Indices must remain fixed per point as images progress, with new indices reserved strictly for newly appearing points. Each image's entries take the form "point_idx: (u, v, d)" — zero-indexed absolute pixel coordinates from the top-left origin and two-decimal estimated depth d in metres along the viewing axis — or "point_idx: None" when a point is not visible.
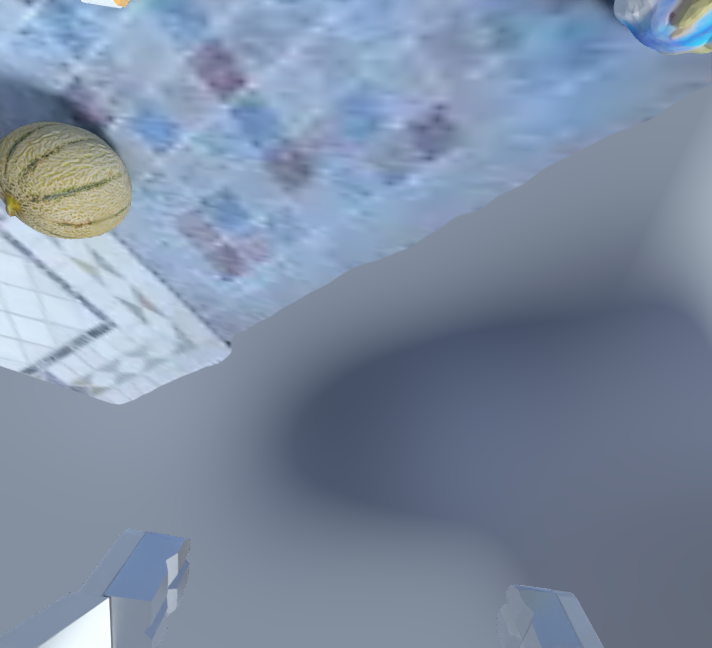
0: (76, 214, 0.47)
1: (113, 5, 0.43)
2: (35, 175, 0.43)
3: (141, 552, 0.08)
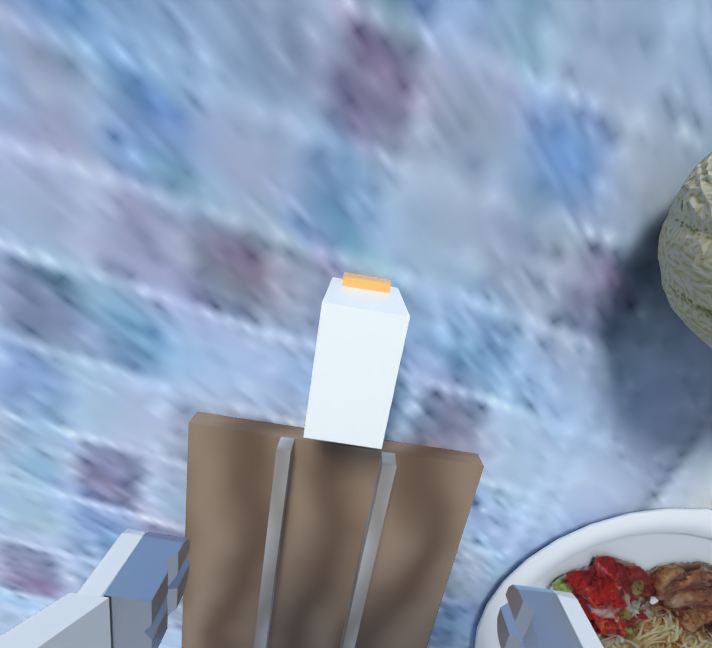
0: None
1: (397, 293, 0.24)
2: None
3: (141, 552, 0.08)
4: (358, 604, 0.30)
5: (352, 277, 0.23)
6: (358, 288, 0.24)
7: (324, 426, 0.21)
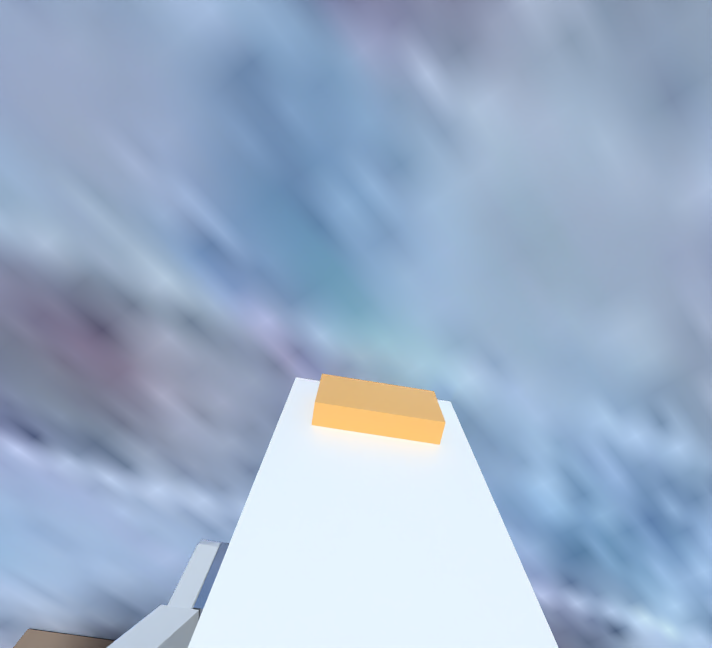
0: None
1: (458, 436, 0.09)
2: None
3: (220, 563, 0.08)
4: None
5: (340, 403, 0.09)
6: (356, 430, 0.09)
7: None
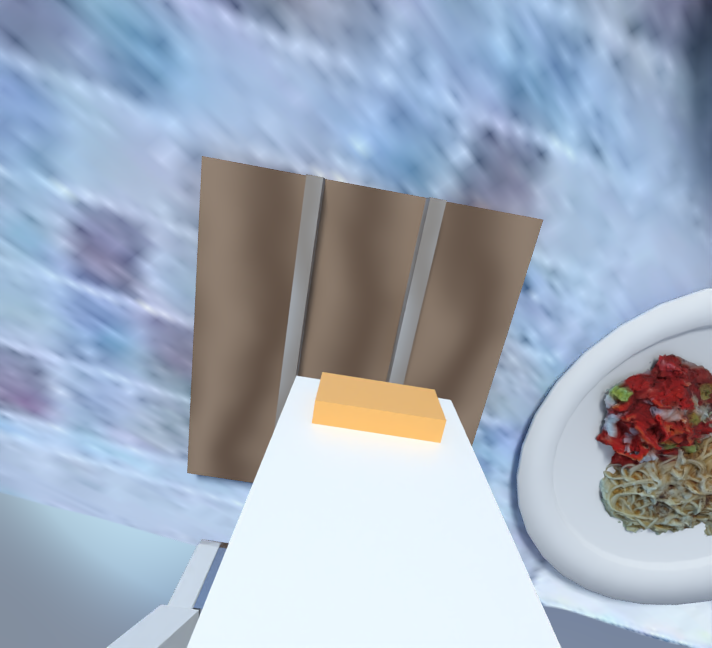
0: None
1: (459, 434, 0.09)
2: None
3: (220, 563, 0.08)
4: None
5: (340, 401, 0.09)
6: (356, 428, 0.09)
7: None
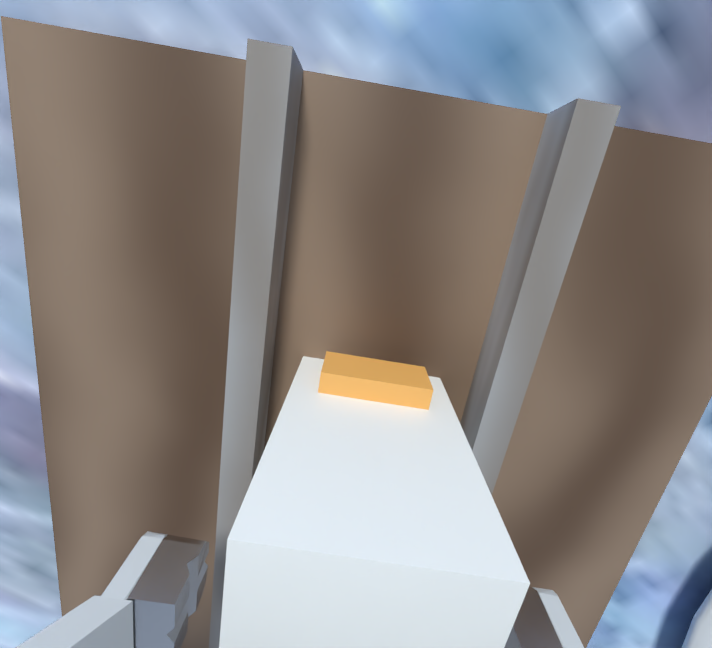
0: None
1: (445, 404, 0.11)
2: None
3: (162, 555, 0.08)
4: None
5: (342, 373, 0.10)
6: (356, 397, 0.10)
7: None
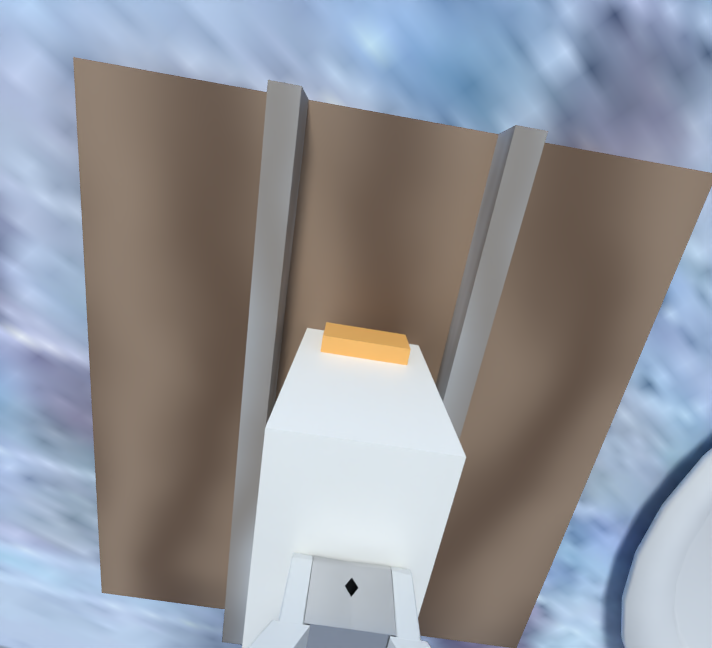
0: None
1: (420, 362, 0.13)
2: None
3: (318, 577, 0.08)
4: None
5: (340, 337, 0.13)
6: (351, 355, 0.13)
7: None
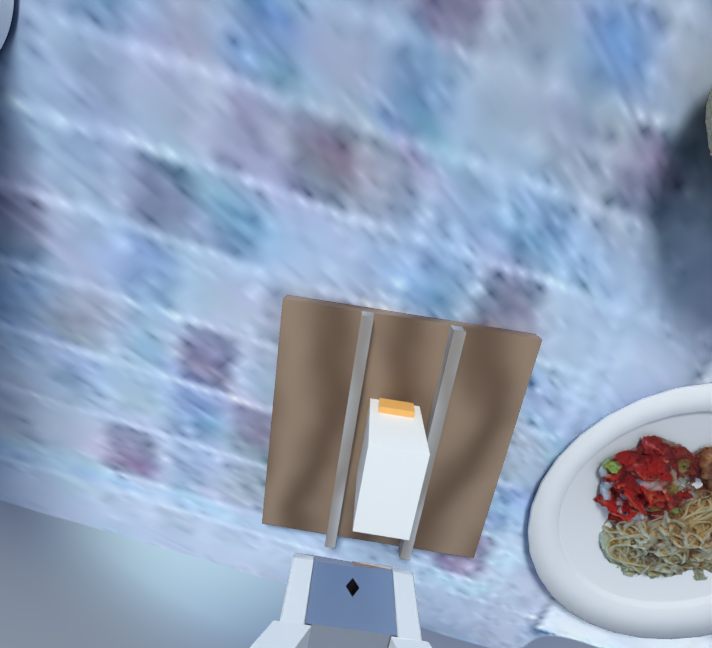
0: None
1: (419, 416, 0.32)
2: None
3: (319, 577, 0.08)
4: (426, 472, 0.34)
5: (386, 406, 0.32)
6: (390, 414, 0.32)
7: (367, 524, 0.29)
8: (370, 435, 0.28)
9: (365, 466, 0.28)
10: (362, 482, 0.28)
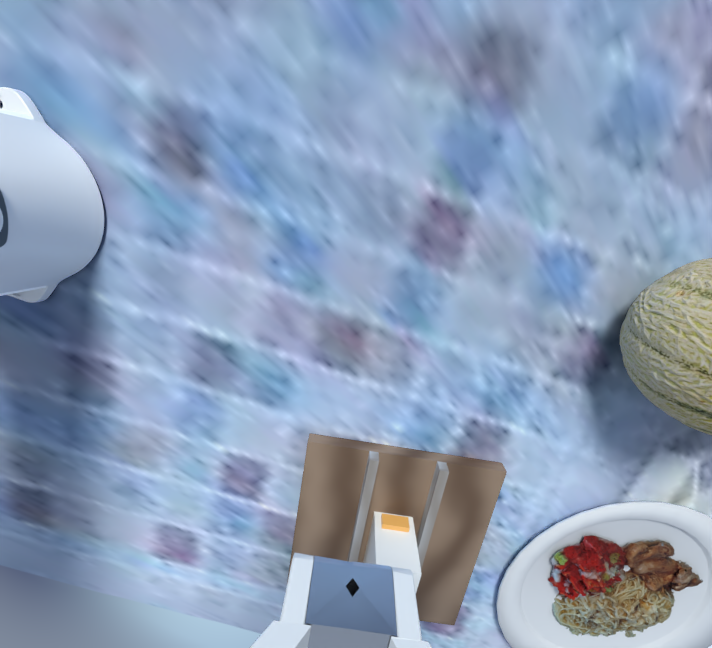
0: None
1: (413, 529, 0.42)
2: None
3: (319, 577, 0.08)
4: None
5: (387, 523, 0.41)
6: (390, 529, 0.41)
7: None
8: (377, 556, 0.38)
9: None
10: None
